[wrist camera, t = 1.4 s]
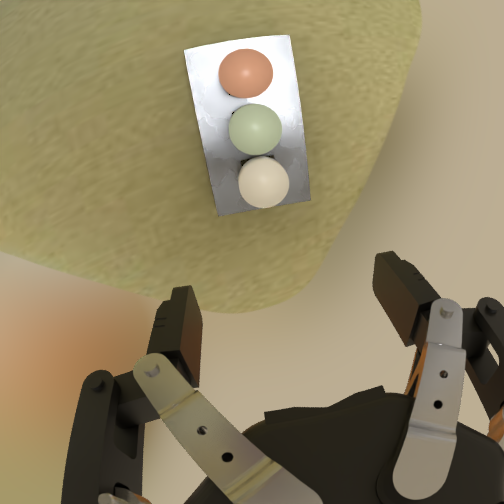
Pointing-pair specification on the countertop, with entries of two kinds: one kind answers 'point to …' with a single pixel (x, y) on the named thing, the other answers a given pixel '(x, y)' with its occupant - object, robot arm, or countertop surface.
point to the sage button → (255, 129)
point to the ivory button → (263, 182)
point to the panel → (222, 105)
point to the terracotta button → (245, 73)
